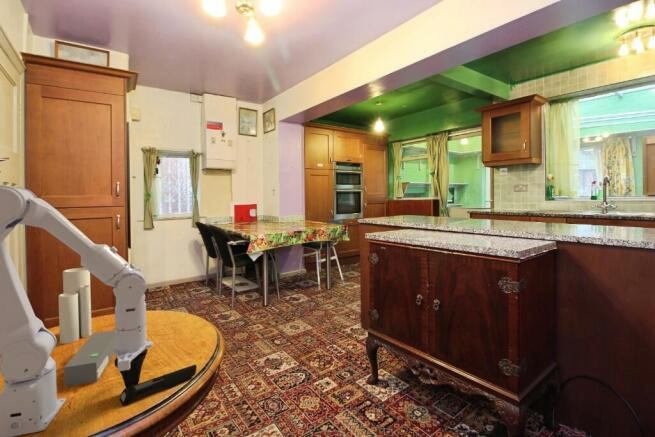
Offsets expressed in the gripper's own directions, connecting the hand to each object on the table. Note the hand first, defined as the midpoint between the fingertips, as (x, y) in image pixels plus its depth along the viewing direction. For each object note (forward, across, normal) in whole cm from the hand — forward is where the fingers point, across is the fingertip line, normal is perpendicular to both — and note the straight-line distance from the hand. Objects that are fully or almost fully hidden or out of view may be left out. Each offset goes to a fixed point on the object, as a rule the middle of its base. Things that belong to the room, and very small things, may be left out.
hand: (132, 386), depth 69 cm
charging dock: (+1, +17, +11) cm, 20 cm away
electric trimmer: (+2, -1, -5) cm, 6 cm away
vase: (+1, +39, +22) cm, 45 cm away
